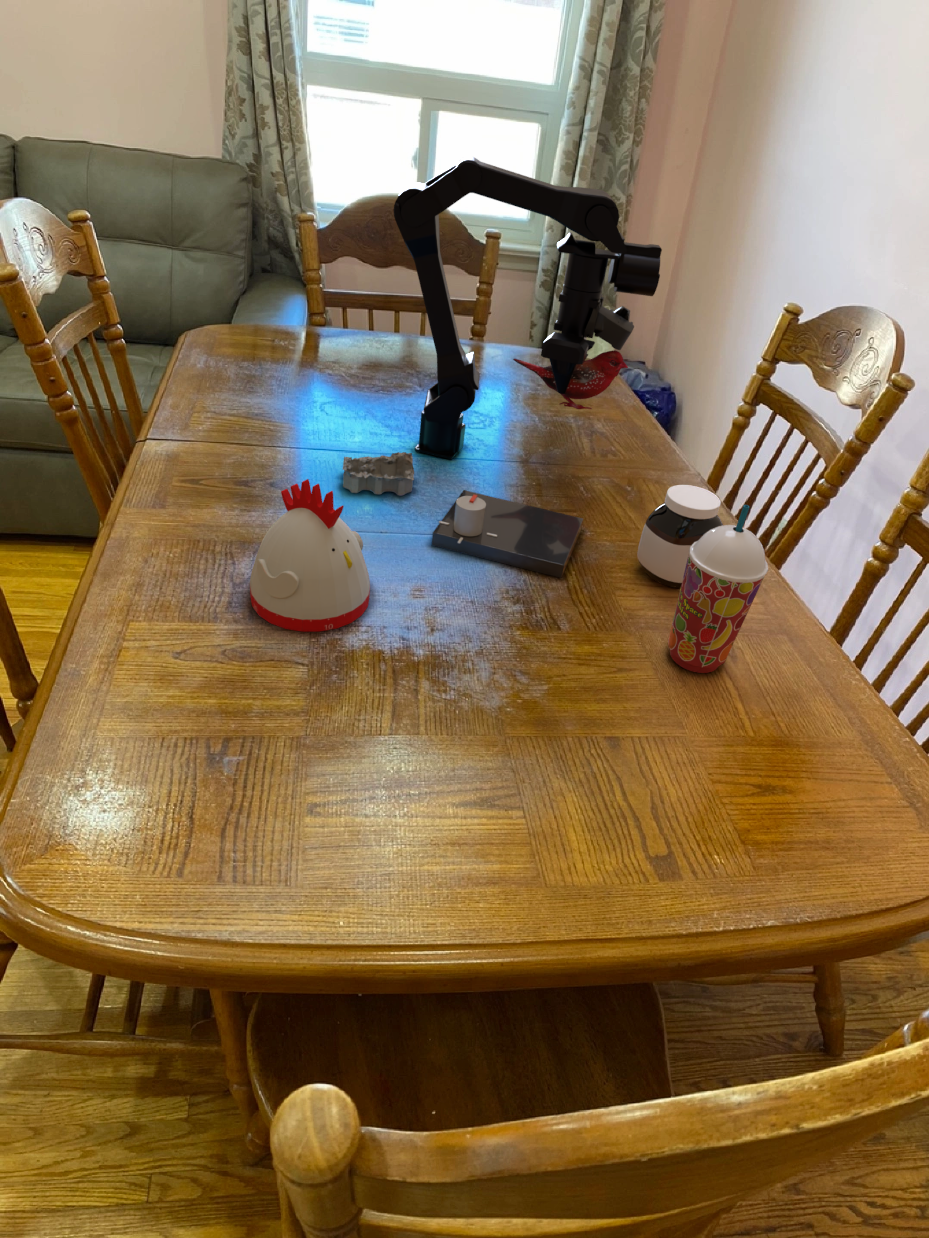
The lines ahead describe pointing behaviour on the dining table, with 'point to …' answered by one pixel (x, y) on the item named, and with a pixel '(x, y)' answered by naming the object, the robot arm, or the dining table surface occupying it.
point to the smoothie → (716, 595)
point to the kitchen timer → (310, 566)
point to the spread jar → (676, 532)
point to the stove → (515, 536)
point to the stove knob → (469, 515)
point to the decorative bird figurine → (584, 376)
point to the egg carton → (379, 473)
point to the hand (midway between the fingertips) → (563, 390)
